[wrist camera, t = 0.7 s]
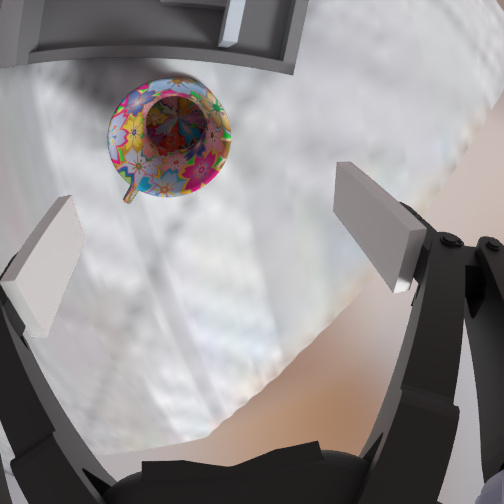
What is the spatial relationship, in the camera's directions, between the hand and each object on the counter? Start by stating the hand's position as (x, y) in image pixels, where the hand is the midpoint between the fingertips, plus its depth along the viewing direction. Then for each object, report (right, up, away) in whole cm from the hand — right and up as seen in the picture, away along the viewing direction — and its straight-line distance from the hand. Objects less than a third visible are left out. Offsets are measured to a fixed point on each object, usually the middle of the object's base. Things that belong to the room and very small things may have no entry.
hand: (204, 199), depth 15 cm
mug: (-6, +11, +16) cm, 20 cm away
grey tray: (-7, +24, +7) cm, 26 cm away
